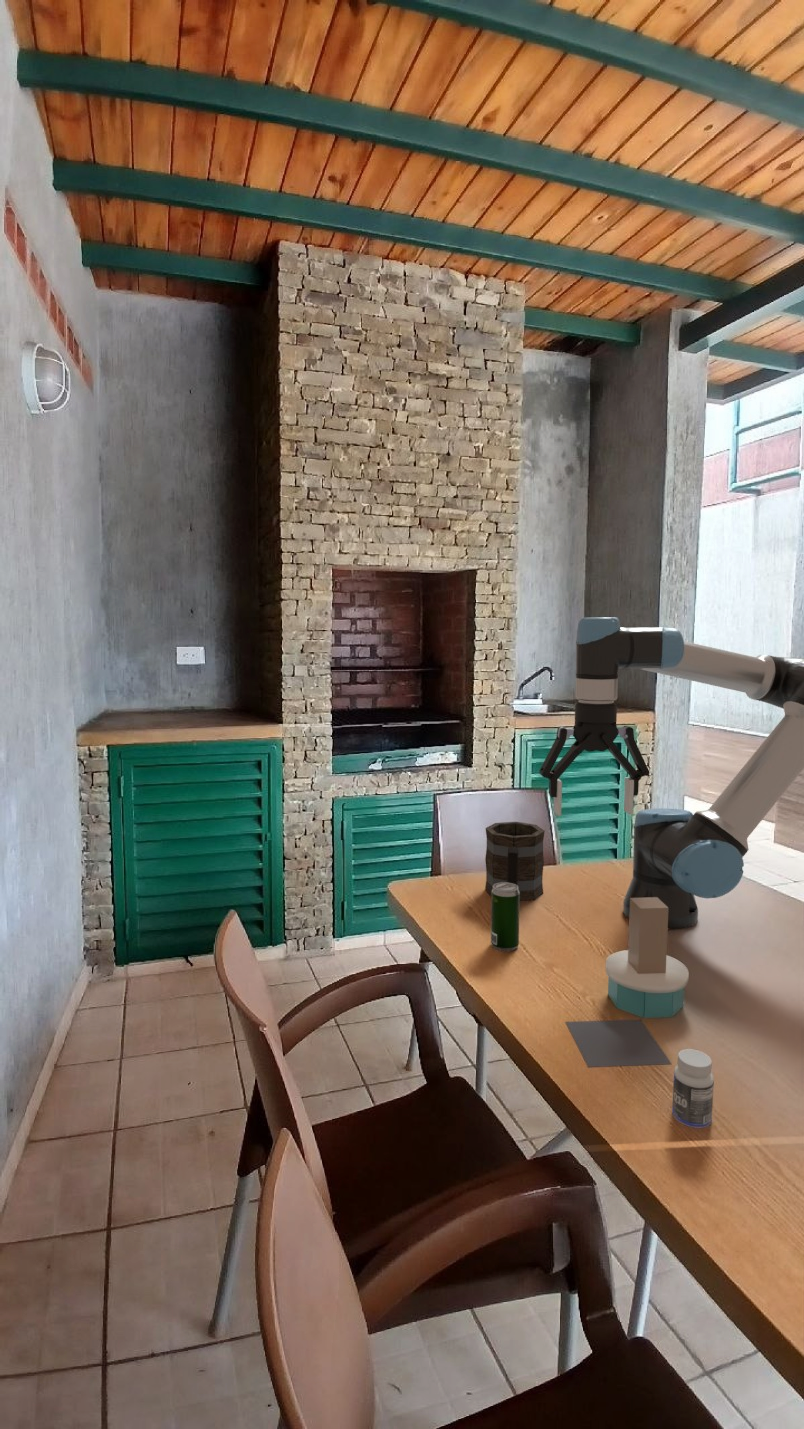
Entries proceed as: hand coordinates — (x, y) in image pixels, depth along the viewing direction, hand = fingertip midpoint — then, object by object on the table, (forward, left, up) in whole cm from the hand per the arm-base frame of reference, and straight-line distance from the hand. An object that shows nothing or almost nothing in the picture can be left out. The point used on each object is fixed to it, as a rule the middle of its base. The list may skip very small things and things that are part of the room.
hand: (592, 813), depth 142 cm
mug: (+9, -28, -27) cm, 40 cm away
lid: (-3, +21, -22) cm, 30 cm away
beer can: (+16, -2, -27) cm, 31 cm away
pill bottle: (+2, +50, -27) cm, 57 cm away
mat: (+6, +33, -27) cm, 43 cm away
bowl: (-3, +21, -27) cm, 34 cm away
